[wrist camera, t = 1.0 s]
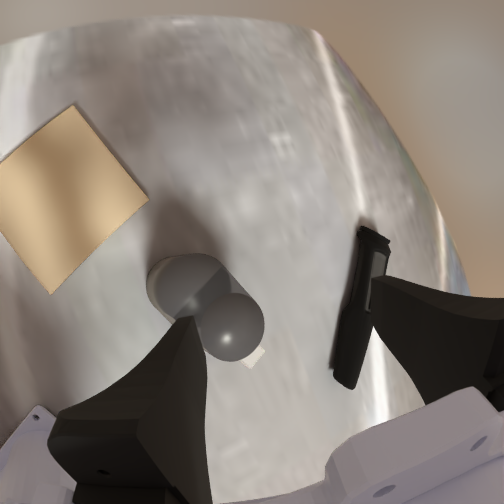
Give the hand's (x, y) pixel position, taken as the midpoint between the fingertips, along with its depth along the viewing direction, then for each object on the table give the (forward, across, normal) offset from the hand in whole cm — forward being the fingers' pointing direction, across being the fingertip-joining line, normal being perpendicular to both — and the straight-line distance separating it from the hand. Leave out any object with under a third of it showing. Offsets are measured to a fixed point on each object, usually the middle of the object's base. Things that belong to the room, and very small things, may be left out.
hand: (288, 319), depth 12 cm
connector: (+9, +5, +4) cm, 11 cm away
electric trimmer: (+15, -9, +9) cm, 20 cm away
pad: (+8, +12, -6) cm, 16 cm away
